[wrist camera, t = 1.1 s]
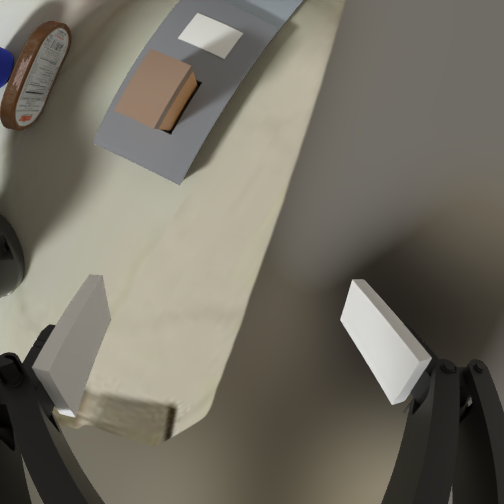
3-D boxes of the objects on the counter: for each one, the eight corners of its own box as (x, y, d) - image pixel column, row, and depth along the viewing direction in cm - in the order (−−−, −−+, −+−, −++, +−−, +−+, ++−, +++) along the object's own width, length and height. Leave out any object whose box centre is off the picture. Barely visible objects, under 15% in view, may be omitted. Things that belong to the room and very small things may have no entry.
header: (103, 141, 29) (91, 142, 26) (192, 0, 23) (190, -12, 20) (182, 180, 33) (179, 185, 30) (273, 37, 27) (279, 28, 23)
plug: (146, 117, 29) (113, 110, 18) (171, 76, 28) (150, 48, 17) (173, 130, 30) (153, 128, 20) (198, 89, 29) (191, 65, 18)
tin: (67, 30, 21) (38, 13, 14) (82, 32, 22) (54, 13, 14) (25, 126, 26) (-10, 130, 18) (39, 131, 27) (4, 135, 19)
